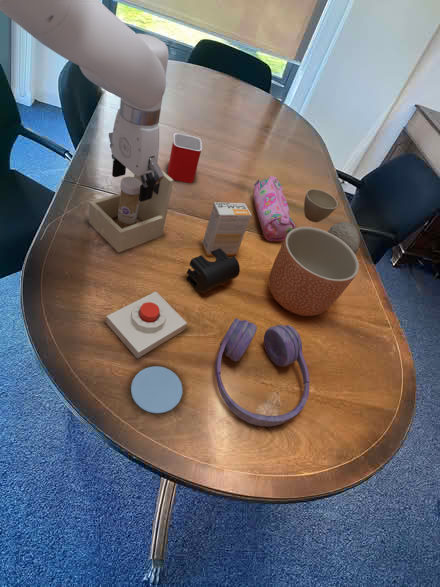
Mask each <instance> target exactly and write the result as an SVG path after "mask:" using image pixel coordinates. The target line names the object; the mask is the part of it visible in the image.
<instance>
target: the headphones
mask: <svg viewBox="0 0 440 587" xmlns="http://www.w3.org/2000/svg"><path fill="white" fill-rule="evenodd" d="M257 329H258V327H257V325H256V324H255V323H254V322H250V321H249V320H247V319H243V320H241V319H239V318H237V317H235V318H234V320H233V321H232V323H231V325H230V326H229V328H228V329H227V331H226V333H225V335H224V337H223V338H222V340H221V342H220V343H219V349H218V352H217V355H216V359H215V364H214V375H215V380H216V386H217V388H218V392H219V394H220V396H221V398H222V400H223V402H224V404H225V405H226V406H227V407H228V408H229V410H230V411H231V412H232V413H233V414H234V415H235V416H237V417H238V418H239V419H241V420H242V421H244V422H246V423H248V424H250V425H254V426H256V427H257V426H259V427H275V426H279V425H283V424H284V423H286V422H288V421H290V420H291V419H293V418H294V417H296V416H297V415H298V414H299V413H300V412H301V411H302V410H303V409H304V408H305V406H306V403H307V402H308V399H309V396H310V382H311V380H310V379H311V378H310V373H309V368H308V366H307V365H308V364H307V362H306V360H305V357H304V355H303V341H302V338H301V335H300V333H299V332H298V331H297V329H296V328H295V327H293V326H292V325H289V324H286V325H284V324H278V325H273V326H270V327H268V328H267V329H266V331H265V333H264V334H263V344H264V350H265V351H266V354H267V356H268V357H269V359H270V361H272V362H273V363H274V364H275V365H276V366H278V367H288V366H290V365H291V364H292V363H294V362H297V364H298V367H299V369H300V373H301V377H302V384H303V385H304V387H303V392H302V396H301V399H300V400H299V402H298V404H297V405H296V406H295V407H294V408H293V409H291V410H290V411H288V412H286V413H284V414H280V415H264V414H258V413H255V412H252V411H250V410H247V409H245V408H244V407H242V406H240V405H239V404H238V403H236V401H235V400H233V398H232V397H231V396H230V395H229V393H228V392H227V390H226V388H225V386H224V384H223V380H222V377H221V372H222V370H221V368H222V357H223V354H224V355H225V356H226V357H228V358H229V359H230V360H231V361H233V362H238V361H240V360H241V358H242V357H243V355H244V354H245V352H246V351H247V349H248V347H249V346H250V344H251V342H252V340H253V338H254V336H255V335H256V332H257V331H258V330H257Z"/></svg>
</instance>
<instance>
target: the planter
mask: <svg viewBox="0 0 440 587" xmlns="http://www.w3.org/2000/svg"><path fill="white" fill-rule="evenodd" d="M271 266H272V267H271V269H270V273H269V276H268V286H269V291H270V293H271V294H272V297H273V298H274V300H275V301H276V302H277V304H279V305H280V306H281V307H282V308H283V309H285V310H286V311H287V312H289V313H291V314H294V315H298V316H303V317H313V316H317V315H321V314H322V313H324V312H326V311H327V310H328V309H329V308H331V307H332V306H333V305H334V304H335V303H336V302H337V300H338V299H339V298H340V297H341V296H342V294H343V293H344V291H345V290H346V289H347V288H348V287H349V285H350V284H351V283H352V282H353V281H354V279H355V278H356V276H357V275H358V274H359V270H360V263H359V259H358V258H357V255H356V254H354V252H353V251H352V250H351V248H350V247H349V246H348V245H347V244H346V243H345V242H343V241H342V240H341V239H339V238H338V237H336V236H335V235H333V234H331V233H329V232H328V231H327V230H324V229H321V228H318V227H313V226H298V227H295V229H293V230H291V231H290V232H289V233H288V234H287V236H286V238H285V240H283V242H282V244H281V246H280V248H279V250H278V252H277V255H276V257H275V259H274V262H273V264H272V265H271Z"/></svg>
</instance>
